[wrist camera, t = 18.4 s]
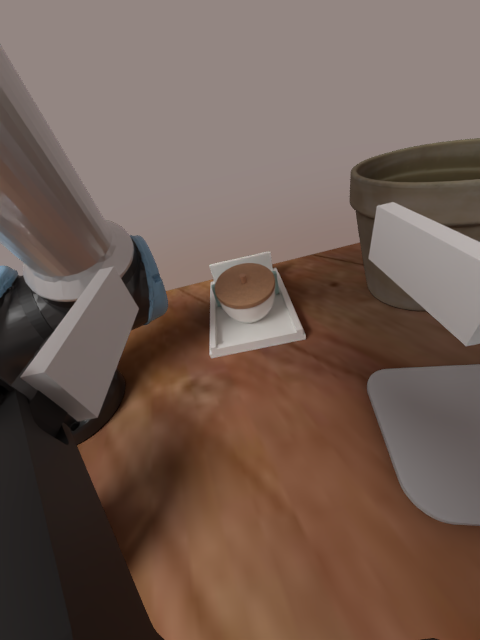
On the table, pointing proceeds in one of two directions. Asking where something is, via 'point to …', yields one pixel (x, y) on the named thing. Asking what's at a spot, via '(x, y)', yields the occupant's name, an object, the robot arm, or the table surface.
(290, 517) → the table surface
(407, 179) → the plant pot
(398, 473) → the tablet
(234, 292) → the lidded jar
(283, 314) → the pusher lane
